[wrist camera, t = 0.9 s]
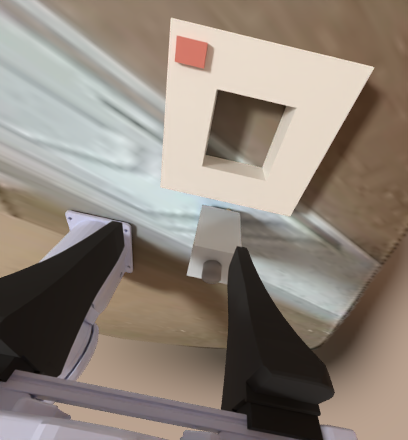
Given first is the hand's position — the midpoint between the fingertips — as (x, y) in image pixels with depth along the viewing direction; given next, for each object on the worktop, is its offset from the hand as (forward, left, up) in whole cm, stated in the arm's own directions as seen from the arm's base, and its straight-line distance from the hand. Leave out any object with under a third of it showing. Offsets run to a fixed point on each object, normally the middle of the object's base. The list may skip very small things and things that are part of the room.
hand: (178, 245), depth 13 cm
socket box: (+5, -3, -10) cm, 11 cm away
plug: (-4, -3, -10) cm, 11 cm away
